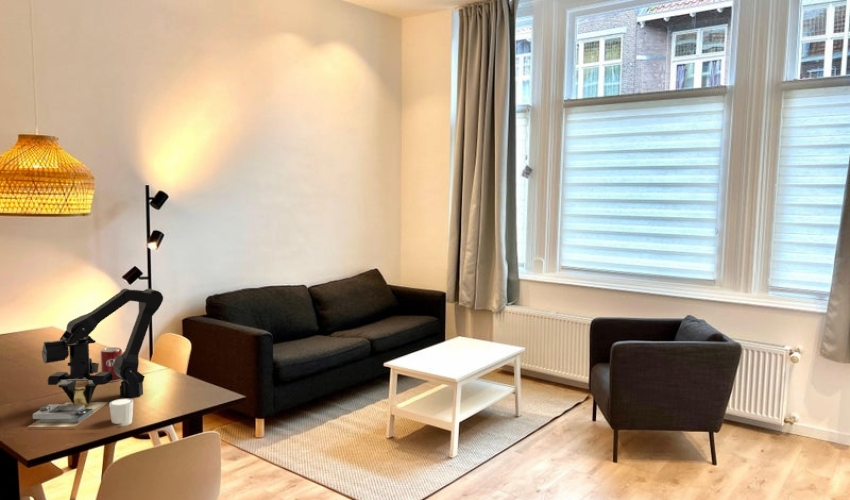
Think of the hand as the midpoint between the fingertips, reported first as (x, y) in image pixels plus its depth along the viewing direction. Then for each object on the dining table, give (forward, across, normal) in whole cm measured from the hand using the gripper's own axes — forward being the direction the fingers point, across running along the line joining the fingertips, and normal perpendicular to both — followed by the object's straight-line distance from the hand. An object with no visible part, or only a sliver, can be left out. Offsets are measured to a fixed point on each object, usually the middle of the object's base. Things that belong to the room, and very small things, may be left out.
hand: (81, 403), depth 205 cm
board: (+2, 0, +7) cm, 7 cm away
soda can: (+2, +5, -33) cm, 33 cm away
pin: (+1, 0, 0) cm, 1 cm away
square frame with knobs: (+2, 0, +11) cm, 11 cm away
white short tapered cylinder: (+2, -19, +13) cm, 23 cm away
